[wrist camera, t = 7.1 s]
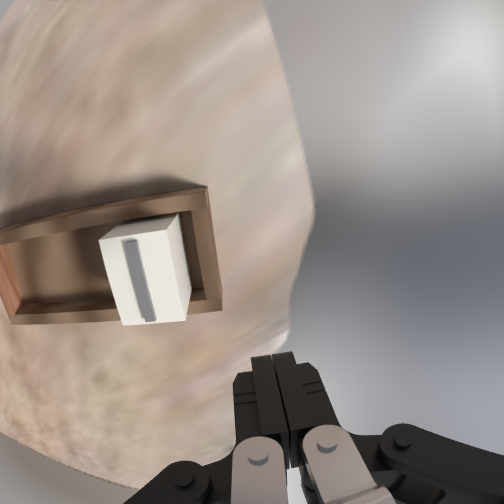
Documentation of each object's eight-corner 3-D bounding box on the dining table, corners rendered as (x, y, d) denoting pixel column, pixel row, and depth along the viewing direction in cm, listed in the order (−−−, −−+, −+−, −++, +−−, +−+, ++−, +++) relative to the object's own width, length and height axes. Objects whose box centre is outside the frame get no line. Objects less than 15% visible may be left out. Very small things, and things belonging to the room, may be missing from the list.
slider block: (179, 211, 25) (165, 231, 18) (192, 285, 27) (184, 323, 21) (124, 220, 24) (96, 241, 18) (140, 291, 26) (121, 328, 20)
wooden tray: (207, 186, 26) (204, 192, 22) (222, 290, 29) (222, 310, 25) (3, 227, 24) (-18, 237, 21) (28, 308, 28) (11, 324, 24)
